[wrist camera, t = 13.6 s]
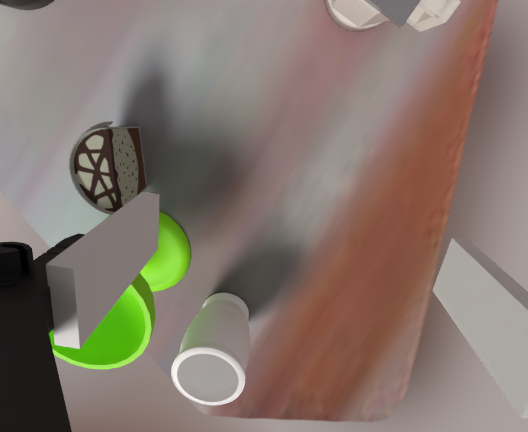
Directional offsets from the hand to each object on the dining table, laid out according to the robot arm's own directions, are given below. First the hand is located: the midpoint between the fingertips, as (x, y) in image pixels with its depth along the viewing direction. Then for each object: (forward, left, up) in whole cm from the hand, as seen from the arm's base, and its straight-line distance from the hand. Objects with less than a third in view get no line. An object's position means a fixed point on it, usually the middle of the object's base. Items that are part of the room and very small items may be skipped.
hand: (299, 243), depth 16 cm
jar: (+25, -22, -37) cm, 50 cm away
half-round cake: (-6, -25, -37) cm, 45 cm away
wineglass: (+9, -30, -37) cm, 48 cm away
